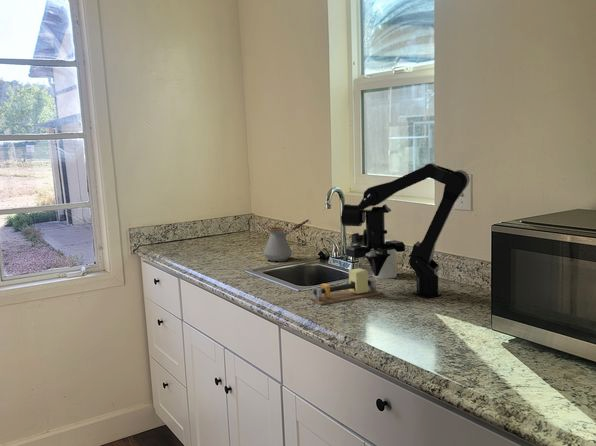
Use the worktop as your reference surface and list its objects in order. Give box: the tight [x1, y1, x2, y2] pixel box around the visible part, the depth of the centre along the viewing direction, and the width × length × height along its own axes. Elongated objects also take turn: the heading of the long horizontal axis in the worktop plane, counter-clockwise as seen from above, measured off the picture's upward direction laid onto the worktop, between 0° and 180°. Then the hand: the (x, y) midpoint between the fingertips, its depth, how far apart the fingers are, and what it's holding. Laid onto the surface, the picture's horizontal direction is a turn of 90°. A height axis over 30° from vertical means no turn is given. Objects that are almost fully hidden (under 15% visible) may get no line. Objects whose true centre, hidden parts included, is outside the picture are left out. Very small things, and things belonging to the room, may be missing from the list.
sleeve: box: [348, 267, 369, 294], centre depth 176 cm, size 4×4×7 cm
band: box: [320, 283, 331, 297], centre depth 171 cm, size 3×1×3 cm, turn 26°
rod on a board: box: [307, 277, 382, 306], centre depth 174 cm, size 8×21×4 cm, turn 116°
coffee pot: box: [263, 219, 312, 262], centre depth 233 cm, size 21×12×15 cm, turn 119°
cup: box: [372, 239, 398, 280], centre depth 198 cm, size 8×8×12 cm
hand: (376, 275), depth 179 cm, fingers closed
